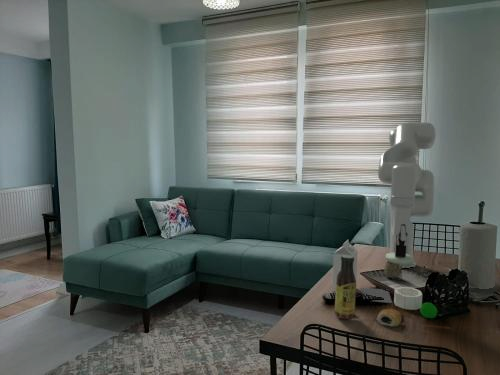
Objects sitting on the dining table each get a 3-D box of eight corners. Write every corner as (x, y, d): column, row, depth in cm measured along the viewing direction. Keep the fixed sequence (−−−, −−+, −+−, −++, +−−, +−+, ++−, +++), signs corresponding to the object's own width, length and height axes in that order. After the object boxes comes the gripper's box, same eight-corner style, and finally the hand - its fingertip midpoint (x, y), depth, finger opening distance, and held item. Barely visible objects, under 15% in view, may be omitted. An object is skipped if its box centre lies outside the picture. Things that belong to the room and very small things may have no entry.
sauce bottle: (343, 322, 127) (345, 260, 124) (330, 314, 133) (331, 255, 130) (359, 317, 130) (361, 257, 127) (346, 309, 136) (347, 252, 133)
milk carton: (332, 293, 150) (333, 242, 147) (337, 286, 156) (338, 238, 153) (351, 296, 147) (353, 245, 144) (356, 289, 153) (357, 240, 150)
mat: (360, 289, 153) (360, 287, 153) (388, 291, 151) (388, 289, 151) (361, 302, 142) (362, 300, 142) (392, 304, 140) (392, 302, 140)
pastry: (385, 312, 134) (386, 301, 133) (406, 318, 130) (407, 307, 129) (375, 323, 127) (375, 311, 126) (396, 329, 122) (397, 318, 122)
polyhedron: (420, 320, 128) (421, 305, 128) (419, 313, 133) (419, 299, 132) (437, 322, 127) (438, 307, 126) (435, 315, 131) (436, 301, 131)
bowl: (393, 299, 143) (393, 286, 143) (418, 301, 142) (419, 288, 141) (396, 310, 135) (396, 295, 135) (423, 312, 134) (423, 297, 133)
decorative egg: (385, 275, 167) (386, 252, 166) (400, 278, 164) (402, 254, 163) (383, 280, 162) (384, 256, 161) (398, 283, 159) (400, 258, 158)
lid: (384, 255, 144) (385, 235, 143) (411, 256, 142) (412, 236, 141) (386, 262, 135) (387, 241, 134) (415, 264, 133) (416, 243, 132)
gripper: (388, 197, 145) (386, 247, 147) (393, 205, 129) (390, 261, 131) (410, 198, 143) (408, 249, 145) (418, 206, 127) (415, 263, 130)
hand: (399, 254), depth 138 cm, fingers closed on lid, 3 cm apart
